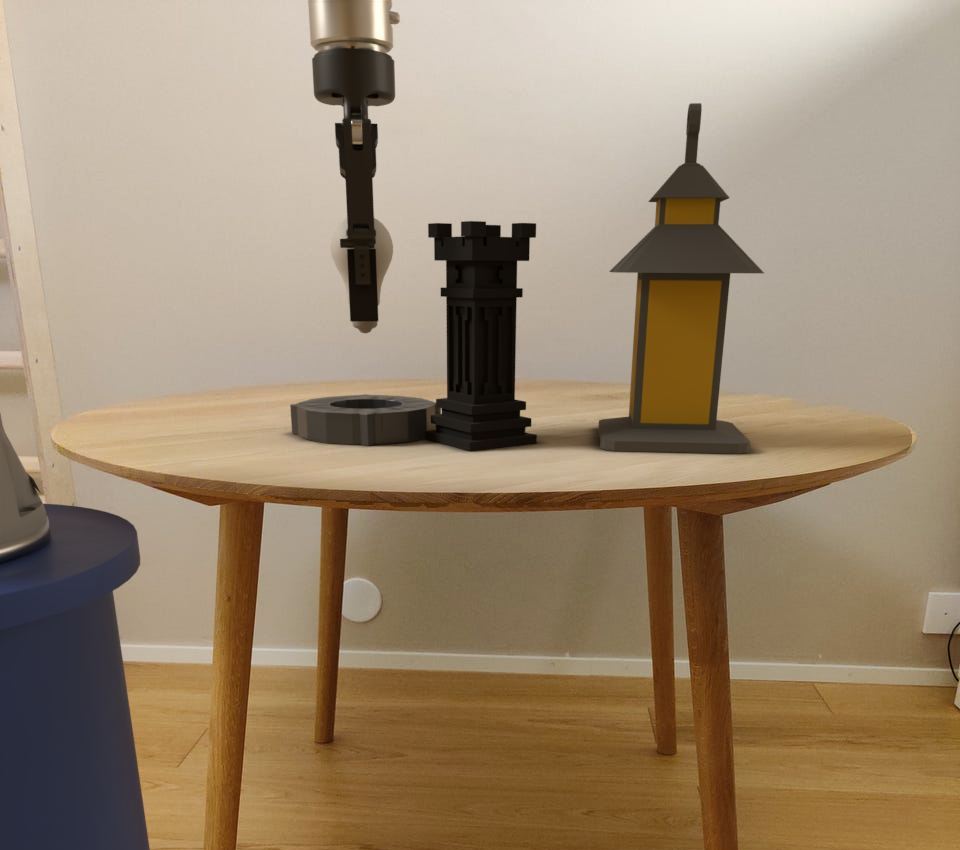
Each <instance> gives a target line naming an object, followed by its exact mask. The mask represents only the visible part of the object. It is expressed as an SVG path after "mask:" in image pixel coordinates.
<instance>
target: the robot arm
mask: <svg viewBox="0 0 960 850" xmlns="http://www.w3.org/2000/svg"><path fill="white" fill-rule="evenodd" d="M307 4H308V6H307V7H308V21H309V23H308V24H309V38H310V40H309V41H310V46H311V47H312V48H313V49H314V50H315V51H317V52H316V53H314V55H313V57H312V58H311V65H312V67H311V68H312V81H313V82H312V83H313V96H314V98H315V99H316V101H317V102H319V103H321V104H324V105H328V106H340V107H342V109H343V110H342V111H343V118H342V119H341V122H334V136H335V145H336V148H337V149H338V165H339V174H340V176H341V177H342V178H343V179H344V180H345V197H346V198H345V201H346V218H347V224H348V229H347V230H346V236H347V239H340V248H354V249H347V259H348V281H349V302H350V305H349V321H350V322H352V321H377V322H379V305H378V296H377V268H376V249H369V248H374V245H375V244H376V238H375V236H376V230H375V229H374V218H375V211H374V182H373V180H374V179H373V178H375V176H376V173H377V147H378V144H379V127H378V123H372V120H371V118H369V107H383V106H387V105H390V104H391V103H394V100H395V98H396V72H395V71H396V70H395V67H396V66H395V60H394V59H393V56H392V55H390V54H388V53H389V52H391V51H392V49H393V48H394V28H393V25H398V24H400V21H401V18H400V17H401V15H400V14H399V12H396V11H392V10H391V9H392V7H393V1H392V0H307ZM39 494H42V492H41V490H40V489H39V487H38V485H37V483H36V481H35V479H34V478H33V477H32V476H31V475H30V474H29V473H28V472H27V471H26V468H25V467H24V465H23V463H22V461H21V460H20V457H19V456H18V454H17V452H16V450H15V448H14V446H13V445H12V442H11V440H10V439H9V437H8V434H7V433H6V430H5V427H4V425H3V419H2V414H1V413H0V565H3V564H6V563H10V562H13V561H16V560H18V559H21V558H24V557H26V556H29V555H31V554H33V553H35V552H37V551H38V550H40V549H42V548H43V547H44V546H46V545H47V544H48V543H49V541H50V539H51V533H50V526H49V520H48V517H47V516H46V510H45V507H44V505H43V504H44V503H43V501H42V499H41V497H40V495H39Z"/></svg>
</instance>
